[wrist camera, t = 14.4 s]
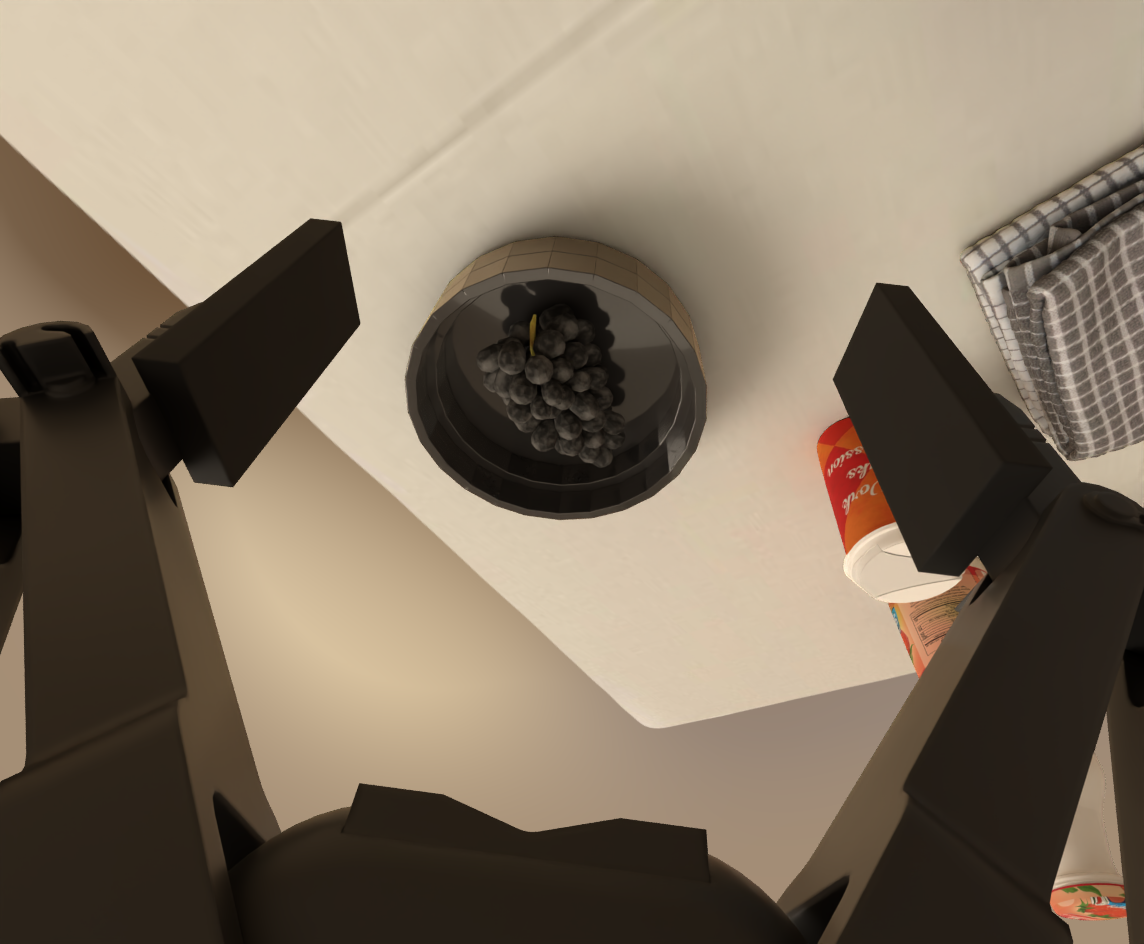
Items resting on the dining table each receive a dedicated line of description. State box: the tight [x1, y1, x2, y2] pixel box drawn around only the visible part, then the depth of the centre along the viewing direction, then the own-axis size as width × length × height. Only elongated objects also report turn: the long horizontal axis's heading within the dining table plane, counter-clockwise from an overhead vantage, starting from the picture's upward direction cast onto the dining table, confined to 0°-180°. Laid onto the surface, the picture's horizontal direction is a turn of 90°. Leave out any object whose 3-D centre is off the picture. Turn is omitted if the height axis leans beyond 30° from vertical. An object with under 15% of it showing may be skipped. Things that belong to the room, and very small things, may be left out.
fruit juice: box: [888, 557, 1127, 920], centre depth 48 cm, size 9×9×28 cm
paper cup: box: [817, 418, 965, 603], centre depth 43 cm, size 8×8×14 cm
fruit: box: [476, 304, 625, 468], centre depth 43 cm, size 9×8×15 cm
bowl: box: [405, 236, 707, 520], centre depth 44 cm, size 22×22×6 cm
